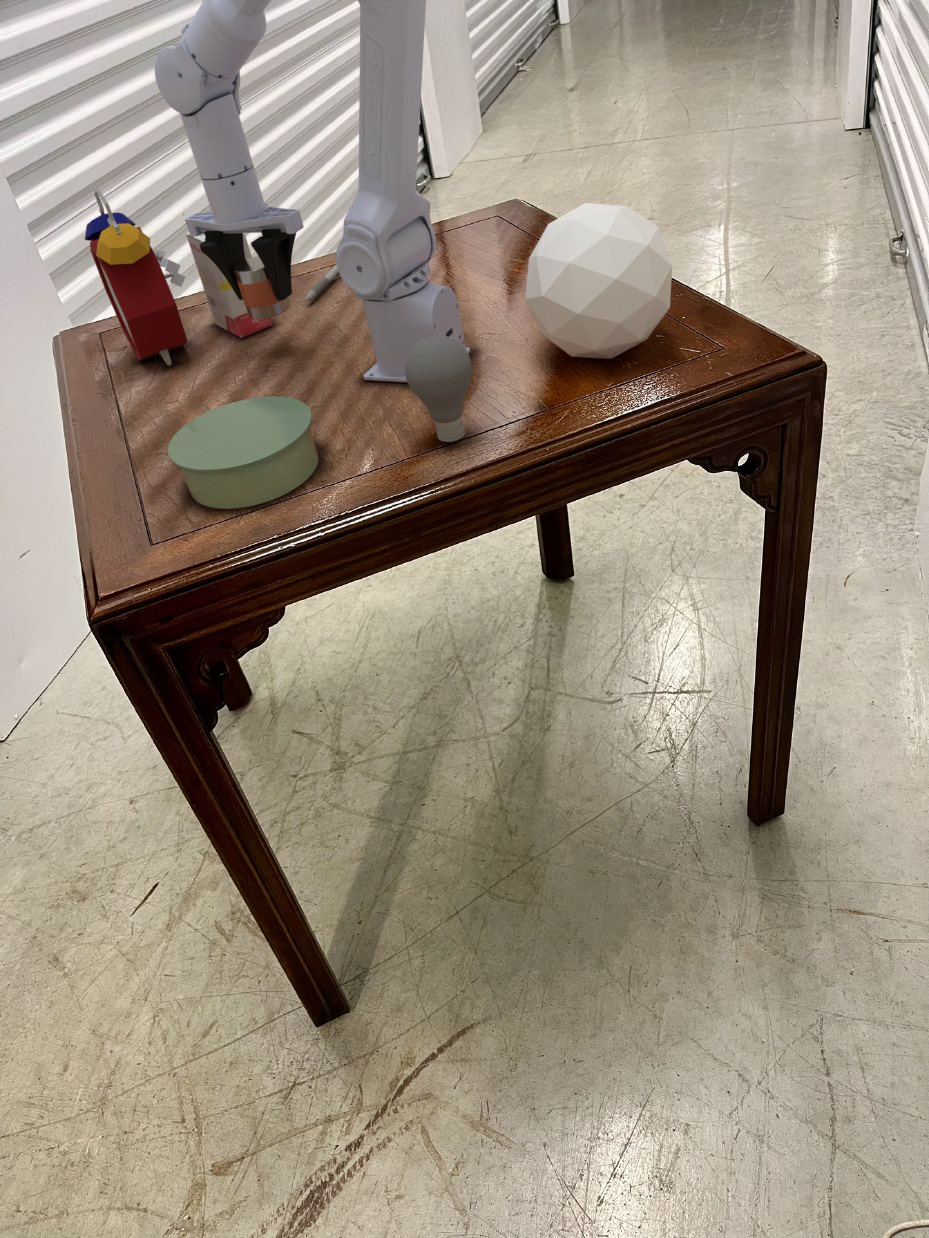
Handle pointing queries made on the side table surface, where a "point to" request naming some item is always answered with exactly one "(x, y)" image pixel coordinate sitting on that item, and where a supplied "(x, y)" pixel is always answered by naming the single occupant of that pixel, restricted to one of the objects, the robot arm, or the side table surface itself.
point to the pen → (323, 283)
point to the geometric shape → (599, 280)
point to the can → (258, 290)
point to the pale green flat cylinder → (246, 452)
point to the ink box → (224, 293)
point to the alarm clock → (136, 283)
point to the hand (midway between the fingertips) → (265, 296)
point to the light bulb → (441, 382)
